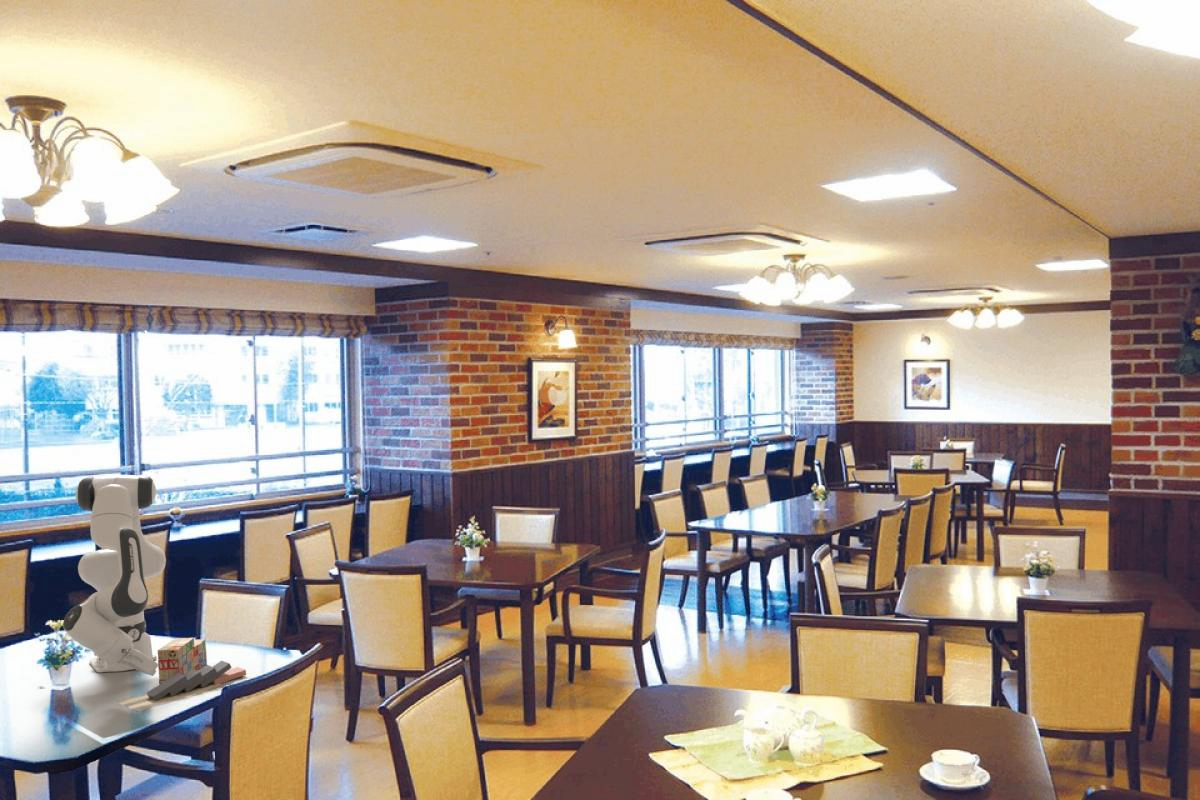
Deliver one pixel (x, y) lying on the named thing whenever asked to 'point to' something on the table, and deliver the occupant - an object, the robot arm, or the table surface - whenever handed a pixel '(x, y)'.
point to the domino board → (164, 698)
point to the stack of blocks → (181, 657)
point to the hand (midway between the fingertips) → (152, 672)
